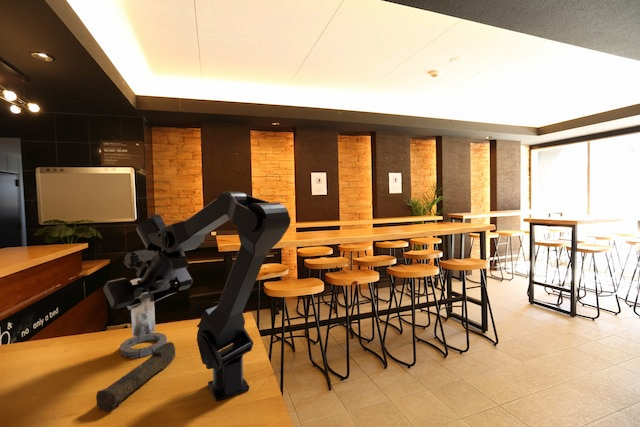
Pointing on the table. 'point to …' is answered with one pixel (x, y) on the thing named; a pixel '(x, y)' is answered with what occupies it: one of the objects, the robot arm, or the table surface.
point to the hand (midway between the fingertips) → (139, 304)
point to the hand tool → (135, 377)
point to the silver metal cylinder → (143, 314)
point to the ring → (142, 352)
